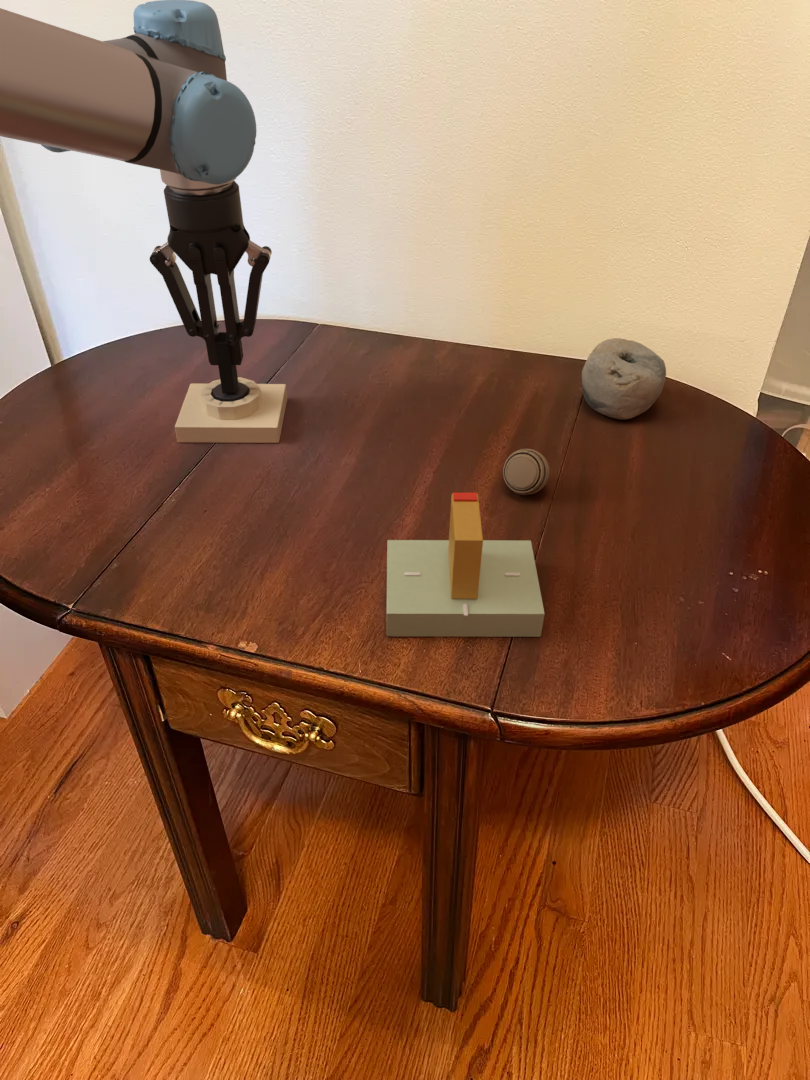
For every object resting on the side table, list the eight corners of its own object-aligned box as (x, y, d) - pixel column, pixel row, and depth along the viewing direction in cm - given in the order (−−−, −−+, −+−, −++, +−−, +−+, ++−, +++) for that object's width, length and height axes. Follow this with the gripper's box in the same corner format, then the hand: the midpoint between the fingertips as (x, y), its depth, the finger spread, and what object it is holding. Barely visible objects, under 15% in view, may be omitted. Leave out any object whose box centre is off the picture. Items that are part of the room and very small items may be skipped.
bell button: (212, 411, 100) (210, 398, 98) (218, 393, 103) (216, 381, 101) (246, 411, 100) (244, 398, 99) (250, 393, 103) (249, 381, 102)
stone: (551, 374, 104) (604, 309, 103) (586, 409, 112) (637, 350, 110) (604, 412, 98) (662, 343, 96) (638, 447, 105) (692, 384, 104)
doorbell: (177, 442, 99) (171, 413, 96) (192, 398, 106) (188, 370, 104) (279, 443, 99) (276, 414, 96) (287, 398, 107) (284, 370, 104)
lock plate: (386, 639, 75) (386, 615, 73) (387, 560, 84) (387, 536, 82) (541, 639, 76) (545, 615, 74) (527, 560, 84) (530, 536, 82)
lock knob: (477, 599, 75) (483, 538, 70) (450, 599, 75) (454, 537, 70) (473, 551, 80) (478, 491, 75) (448, 551, 80) (451, 491, 75)
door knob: (496, 479, 94) (499, 442, 91) (538, 474, 95) (543, 437, 92) (508, 506, 90) (513, 468, 87) (552, 501, 91) (558, 463, 88)
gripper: (269, 171, 87) (288, 372, 103) (144, 170, 87) (181, 371, 103) (260, 195, 82) (281, 404, 97) (126, 195, 82) (169, 404, 97)
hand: (230, 387), depth 100 cm, fingers closed
